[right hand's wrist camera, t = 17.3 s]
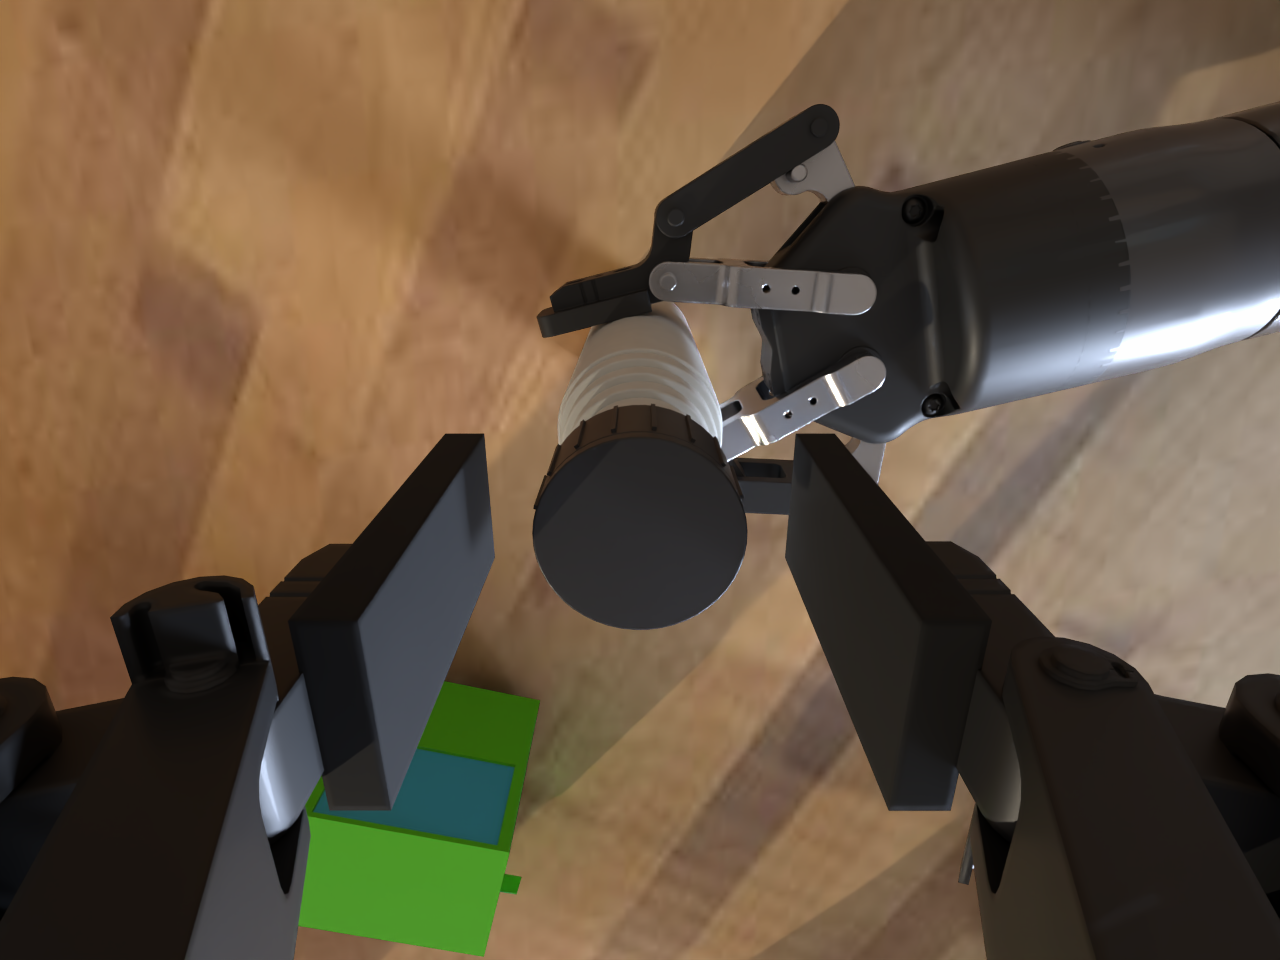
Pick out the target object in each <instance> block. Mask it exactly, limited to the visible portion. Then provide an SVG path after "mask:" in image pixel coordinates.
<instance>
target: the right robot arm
mask: <svg viewBox="0 0 1280 960" xmlns="http://www.w3.org/2000/svg"><path fill="white" fill-rule="evenodd" d="M494 558H495V553H494V542H493V530H492V519H491V507H490V496H489V484H488V473H487V461H486V450H485V438H484V434H445V435H444V436H443V437H442V438H441V440H440V441H439V442H438V443H437V444H436V445H435V447H434V448H433V449H432V450H431V451H430V453H429V454H428V455H427V456H426V457H425V459H424V460H423V461H422V462H421V463H420V464H419V466H418V467H417V468H416V469H415V470H414V472H413V473H412V474H411V475H410V476H409V478H408V479H407V480H406V481H405V482H404V483H403V485H402V486H401V487H400V488H399V489H398V491H397V492H396V493H395V494H394V495H393V497H392V498H391V499H390V500H389V501H388V502H387V504H386V505H385V506H384V507H383V508H382V510H381V511H380V512H379V513H378V514H377V516H376V517H375V518H374V519H373V520H372V521H371V523H370V524H369V525H368V526H367V527H366V529H365V530H364V531H363V532H362V533H361V534H360V536H359V537H358V538H357V539H356V540H355V542H354V543H353V544H329V545H327V546H325V547H323V548H321V549H320V550H318V551H316V552H314V553H312V554H311V555H309V556H307V557H305V558H304V559H302V560H301V561H300V562H299V563H298V564H297V565H296V566H295V567H294V568H293V569H292V570H291V571H290V572H289V573H288V575H287V576H286V577H285V578H284V579H285V580H284V581H281V582H280V583H279V584H278V585H277V586H276V587H275V588H274V589H273V590H272V591H271V592H270V597H266V598H265V599H264V600H263V601H262V602H261V603H260V604H259V605H258V604H257V600H256V595H255V591H254V587H253V585H251V584H250V583H248V582H247V581H245V580H244V579H242V578H236V577H230V576H207V577H197V578H192V579H187V580H183V581H178V582H173V583H170V584H168V585H165V586H162V587H159V588H156V589H154V590H151V591H148V592H146V593H144V594H142V595H140V596H138V597H137V598H135V599H133V600H131V601H129V602H128V603H126V604H124V605H123V606H122V607H121V608H120V609H119V610H118V611H117V612H116V613H115V614H114V615H112V616H111V617H110V619H111V622H112V625H113V628H114V631H115V634H116V637H117V640H118V643H119V646H120V649H121V652H122V655H123V658H124V661H125V664H126V667H127V670H128V673H129V676H130V679H131V682H132V685H131V687H130V689H129V691H128V692H127V694H126V696H125V698H122V699H117V700H112V701H107V702H102V703H97V704H91V705H86V706H81V707H76V708H71V709H65V710H60V711H55V709H54V706H53V704H52V701H51V699H50V696H49V693H48V691H47V688H46V686H44V685H43V684H42V683H40V682H39V681H37V680H36V679H32V678H21V677H9V678H1V679H0V960H293V959H294V952H295V945H296V938H297V931H298V924H299V917H300V909H301V902H302V895H303V888H304V881H305V874H306V866H307V859H308V852H309V845H310V838H311V834H310V827H309V820H308V816H307V812H306V807H305V804H306V802H307V801H308V799H309V797H310V795H311V793H312V792H313V790H314V788H315V786H316V784H317V783H318V781H319V779H320V777H321V775H322V779H323V784H324V788H325V793H326V797H327V802H328V806H329V811H391V810H392V807H393V805H394V802H395V800H396V798H397V795H398V793H399V790H400V788H401V785H402V783H403V780H404V778H405V776H406V773H407V771H408V768H409V766H410V763H411V761H412V759H413V756H414V754H415V751H416V749H417V746H418V744H419V741H420V739H421V737H422V734H423V732H424V729H425V727H426V724H427V722H428V719H429V717H430V715H431V712H432V710H433V707H434V705H435V702H436V700H437V697H438V695H439V693H440V690H441V688H442V685H443V683H444V680H445V678H446V675H447V673H448V671H449V668H450V666H451V663H452V661H453V658H454V656H455V653H456V651H457V649H458V646H459V644H460V641H461V639H462V636H463V634H464V631H465V629H466V627H467V624H468V622H469V619H470V617H471V614H472V612H473V609H474V607H475V605H476V602H477V600H478V597H479V595H480V592H481V590H482V588H483V585H484V583H485V580H486V578H487V575H488V573H489V570H490V568H491V566H492V563H493V561H494ZM785 558H786V561H787V563H788V566H789V568H790V570H791V573H792V575H793V578H794V580H795V583H796V585H797V588H798V590H799V592H800V595H801V597H802V600H803V602H804V605H805V607H806V609H807V612H808V614H809V617H810V619H811V622H812V624H813V627H814V629H815V631H816V634H817V636H818V639H819V641H820V644H821V646H822V649H823V651H824V653H825V656H826V658H827V661H828V663H829V666H830V668H831V671H832V673H833V675H834V678H835V680H836V683H837V685H838V688H839V690H840V693H841V695H842V697H843V700H844V702H845V705H846V707H847V710H848V712H849V715H850V717H851V719H852V722H853V724H854V727H855V729H856V732H857V734H858V737H859V739H860V741H861V744H862V746H863V749H864V751H865V754H866V756H867V759H868V761H869V763H870V766H871V768H872V771H873V773H874V776H875V778H876V780H877V783H878V785H879V788H880V790H881V793H882V795H883V798H884V800H885V802H886V805H887V807H888V810H889V811H951V806H952V802H953V797H954V793H955V788H956V784H957V779H958V775H959V774H960V775H961V777H962V779H963V781H964V782H965V784H966V786H967V788H968V790H969V791H970V793H971V795H972V797H973V799H974V800H975V802H976V803H975V807H974V812H973V816H972V820H971V824H970V829H969V833H968V837H967V841H966V846H965V850H964V854H963V858H962V863H961V867H960V874H959V881H958V882H959V883H963V884H967V885H968V884H969V880H970V876H971V872H972V869H973V868H974V872H975V879H976V886H977V893H978V900H979V907H980V915H981V922H982V929H983V936H984V943H985V950H986V957H987V960H1280V675H1275V674H1257V675H1247V676H1245V677H1244V678H1242V679H1241V680H1239V681H1238V682H1236V683H1235V686H1234V688H1233V691H1232V693H1231V696H1230V699H1229V701H1228V704H1227V706H1226V708H1222V707H1217V706H1211V705H1206V704H1201V703H1196V702H1190V701H1185V700H1180V699H1175V698H1169V697H1164V696H1160V695H1156V694H1154V693H1153V691H1152V689H1151V687H1150V686H1149V684H1148V682H1147V681H1146V680H1145V679H1144V678H1143V677H1142V676H1141V675H1140V673H1139V672H1138V671H1137V670H1136V669H1135V668H1134V667H1132V666H1131V665H1129V664H1128V663H1126V662H1125V661H1123V660H1122V659H1120V658H1119V657H1117V656H1116V655H1114V654H1112V653H1109V652H1107V651H1104V650H1102V649H1100V648H1097V647H1095V646H1093V645H1090V644H1087V643H1083V642H1079V641H1075V640H1071V639H1066V638H1059V637H1055V636H1054V635H1053V634H1052V633H1051V632H1050V631H1049V630H1048V629H1047V628H1046V627H1045V626H1044V625H1043V624H1042V623H1041V622H1040V621H1039V620H1038V619H1037V617H1036V616H1035V615H1034V614H1033V613H1032V612H1031V611H1030V610H1029V609H1028V608H1027V607H1026V606H1025V605H1024V604H1023V603H1022V602H1021V601H1020V600H1019V599H1018V598H1017V597H1016V596H1015V594H1011V590H1010V589H1009V588H1008V587H1007V586H1006V585H1005V584H1004V583H1003V582H1002V581H1001V580H1000V579H996V575H995V574H994V572H993V571H992V570H991V569H990V568H989V567H988V566H987V565H986V564H985V563H984V562H983V561H982V560H981V559H980V558H979V557H978V556H976V555H974V554H972V553H971V552H969V551H967V550H965V549H963V548H962V547H960V546H958V545H956V544H954V543H953V542H925V540H924V539H923V538H922V537H921V536H920V534H919V533H918V532H917V531H916V530H915V529H914V527H913V526H912V525H911V524H910V523H909V521H908V520H907V519H906V518H905V517H904V516H903V514H902V513H901V512H900V511H899V510H898V508H897V507H896V506H895V505H894V504H893V502H892V501H891V500H890V499H889V498H888V497H887V495H886V494H885V493H884V492H883V491H882V489H881V488H880V487H879V486H878V485H877V483H876V482H875V481H874V480H873V479H872V478H871V476H870V475H869V474H868V473H867V472H866V470H865V469H864V468H863V467H862V466H861V464H860V463H859V462H858V461H857V460H856V459H855V457H854V456H853V455H852V454H851V453H850V451H849V450H848V449H847V448H846V447H845V445H844V444H843V443H842V442H841V441H840V440H839V438H838V437H837V436H836V435H835V434H796V438H795V450H794V461H793V473H792V484H791V496H790V507H789V519H788V530H787V542H786V553H785Z"/></svg>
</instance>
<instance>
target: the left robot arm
mask: <svg viewBox="0 0 1280 960" xmlns="http://www.w3.org/2000/svg"><path fill="white" fill-rule="evenodd" d="M839 126H840V124H839V118H838V115H837V113H836V112H835V111H834V110H833V109H832V108H831V107H830V106H828V105H824V104H817V105H814V106H811V107H810V108H808V109H806V110H804V111H802V112H801V113H799V114H797V115H795V116H794V117H792V118H790V119H789V120H787V121H786V122H784V123H782V124H781V125H779V126H778V127H776V128H775V129H773V130H771V131H770V132H768V133H767V134H765V135H764V136H762V137H760V138H759V139H757V140H756V141H754V142H753V143H751V144H749V145H748V146H746V147H745V148H743V149H742V150H740V151H738V152H737V153H735V154H734V155H732V156H730V157H729V158H727V159H726V160H724V161H723V162H721V163H719V164H718V165H716V166H715V167H713V168H712V169H710V170H708V171H707V172H705V173H704V174H702V175H701V176H699V177H697V178H696V179H694V180H693V181H691V182H690V183H688V184H686V185H685V186H683V187H682V188H680V189H679V190H677V191H675V192H674V193H672V194H671V195H669V196H668V197H666V198H664V199H663V200H662V201H660V203H659V204H658V205H657V207H656V209H655V215H654V217H655V218H654V227H653V236H652V245H651V249H650V251H649V253H648V255H647V256H646V258H645V259H644V260H643V261H641V262H640V263H638V264H635V265H632V266H628V267H624V268H620V269H617V270H613V271H609V272H605V273H601V274H597V275H593V276H589V277H585V278H582V279H578V280H574V281H570V282H567V283H565V284H564V285H563V286H561V287H560V288H559V289H558V290H556V291H555V292H554V293H553V294H552V295H551V296H550V300H551V303H552V307H550V308H547V309H544V310H542V311H541V312H540V313H539V314H538V315H537V320H538V323H539V326H540V330H541V333H542V337H544V338H546V337H552V336H556V335H560V334H564V333H568V332H572V331H576V330H580V329H584V328H588V327H592V326H596V325H600V324H604V323H608V322H612V321H616V320H620V319H623V318H627V317H632V316H636V315H640V314H644V313H648V312H652V306H651V304H654V303H657V302H661V301H667V302H685V303H703V304H718V305H724V306H729V307H738V308H751V313H752V319H753V321H754V323H755V325H756V327H757V329H758V331H759V333H760V335H761V337H762V350H761V368H762V373H763V376H762V377H760V378H758V379H756V380H755V381H753V382H751V383H749V384H748V385H746V386H744V387H742V388H741V389H740V390H738V391H737V392H736V393H735V395H734V396H733V397H732V398H730V399H729V400H727V401H725V402H724V403H722V404H720V405H719V406H720V410H721V414H722V422H723V426H722V446H721V449H722V451H723V452H724V454H725V456H726V458H727V461H728V463H729V466H733V468H734V471H735V474H736V477H737V479H738V482H739V485H740V488H741V491H742V494H743V497H744V499H741V501H742V504H743V508H744V512H745V513H761V514H783V515H789V507H790V496H791V484H792V473H793V461H794V460H774V459H753V458H736V457H737V456H739V455H741V454H742V453H744V452H746V451H748V450H750V449H752V448H753V447H755V446H758V445H768V444H771V443H774V442H776V441H778V440H779V439H781V438H783V437H785V436H787V435H789V434H790V433H792V432H794V431H796V430H798V429H800V428H801V427H803V426H805V425H807V424H809V423H811V422H812V421H814V422H816V423H819V424H821V425H824V426H826V427H829V428H831V429H834V430H836V431H839V432H841V433H844V434H846V435H849V436H851V437H852V438H851V440H850V441H849V442H848V443H847V444H846V445H845V447H846V448H847V449H848V450H849V451H850V453H851V454H852V455H853V456H854V457H855V459H856V460H857V461H858V462H859V463H860V464H861V466H862V467H863V468H864V469H865V470H866V472H867V473H868V474H869V475H870V476H871V478H872V479H873V480H874V481H875V482H876V483H877V485H878V482H879V476H880V471H881V466H882V461H883V456H884V450H885V445H886V442H889V441H892V440H894V439H896V438H897V437H899V436H900V435H901V434H903V433H904V432H905V431H906V430H908V429H909V428H910V427H912V426H914V425H915V424H917V423H919V422H921V421H923V420H926V419H930V418H935V417H942V416H949V415H955V414H960V413H964V412H969V411H973V410H978V409H982V408H986V407H991V406H995V405H999V404H1004V403H1008V402H1013V401H1017V400H1021V399H1026V398H1030V397H1034V396H1039V395H1043V394H1047V393H1052V392H1056V391H1060V390H1065V389H1069V388H1074V387H1078V386H1082V385H1087V384H1091V383H1095V382H1100V381H1104V380H1108V379H1113V378H1117V377H1121V376H1126V375H1130V374H1134V373H1139V372H1143V371H1147V370H1151V369H1155V368H1159V367H1162V366H1166V365H1170V364H1173V363H1176V362H1179V361H1182V360H1185V359H1188V358H1191V357H1193V356H1196V355H1199V354H1201V353H1204V352H1206V351H1209V350H1212V349H1215V348H1218V347H1221V346H1223V345H1227V344H1231V343H1234V342H1238V341H1242V340H1246V339H1251V338H1255V337H1259V336H1264V335H1268V334H1272V333H1277V332H1280V101H1279V102H1275V103H1271V104H1267V105H1264V106H1260V107H1256V108H1252V109H1248V110H1244V111H1240V112H1236V113H1233V114H1229V115H1225V116H1221V117H1217V118H1214V119H1209V120H1205V121H1200V122H1195V123H1188V124H1181V125H1172V126H1162V127H1154V128H1147V129H1140V130H1135V131H1131V132H1126V133H1121V134H1117V135H1114V136H1110V137H1106V138H1102V139H1098V140H1094V141H1077V142H1073V143H1069V144H1066V145H1064V146H1061V147H1059V148H1057V149H1055V150H1053V151H1052V152H1048V153H1044V154H1040V155H1036V156H1032V157H1029V158H1025V159H1021V160H1017V161H1013V162H1010V163H1006V164H1002V165H998V166H994V167H990V168H986V169H982V170H979V171H975V172H971V173H967V174H963V175H959V176H955V177H951V178H947V179H944V180H940V181H936V182H932V183H928V184H924V185H920V186H916V187H912V188H909V189H905V190H901V191H896V192H883V191H879V190H876V189H873V188H870V187H865V186H857V187H855V185H854V183H853V181H852V178H851V176H850V174H849V171H848V169H847V167H846V165H845V162H844V160H843V158H842V156H841V153H840V151H839V149H838V147H837V144H836V142H835V139H836V137H837V135H838V132H839ZM769 183H771V185H772V187H773V188H774V190H775V191H777V192H778V193H780V194H782V195H797V194H800V193H802V192H805V191H809V192H812V193H814V194H815V195H817V196H818V198H819V199H820V201H821V202H820V203H819V205H818V206H817V207H816V208H815V209H814V210H813V211H812V213H811V214H810V215H809V216H808V217H807V218H806V220H805V221H804V222H803V223H802V224H801V225H800V226H799V228H798V229H797V230H796V231H795V232H794V233H793V234H792V236H791V237H790V238H789V239H788V240H787V241H786V242H785V244H784V245H783V246H782V247H781V248H780V249H779V250H778V252H777V253H776V254H775V255H774V256H773V257H772V258H771V260H770V261H759V260H741V259H706V258H689V257H690V249H691V241H692V233H693V230H695V229H696V228H698V227H700V226H701V225H703V224H704V223H706V222H708V221H709V220H711V219H713V218H714V217H716V216H717V215H719V214H721V213H722V212H724V211H725V210H727V209H729V208H730V207H732V206H733V205H735V204H737V203H738V202H740V201H742V200H743V199H745V198H746V197H748V196H750V195H751V194H753V193H754V192H756V191H758V190H759V189H761V188H763V187H764V186H766V185H767V184H769ZM770 391H771V393H770ZM788 411H789V413H788V414H785V413H786V412H788Z"/></svg>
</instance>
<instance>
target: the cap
mask: <svg viewBox="0 0 1280 960" xmlns="http://www.w3.org/2000/svg"><path fill="white" fill-rule="evenodd" d="M741 499H744V497H743V494H742V491H741V488H740V485H739V482H738V479H737V477H736V474H735V471H734V468H733V466H729V463H728V461H727V458H726V456H725V454H724V452H723V451H722V449H721V447H720V444H719V441H718V438H717V437H716V436H715V437H712V435H711V434H710V433H709V432H707V431H706V430H705V429H704V428H703V427H702V426H701V425H699V424H698V423H697V422H695V421H694V420H692V419H691V417H690V415H688V414H686V416H685V415H683V414H681V413H678V412H676V411H673V410H671V409H667V408H663V407H659V406H655V404H651V405H629V406H622V407H618V405H617V406H614V408H613V409H610V410H606V411H604V412H602V413H599V414H597V415H595V416H593V417H591V418H590V419H588V420H586V421H585V420H582V421H581V422H580V425H579V426H578V427H577V428H575V429H574V430H573V431H572V432H571V433H570V434H569V435H568V437H567V438H566V439H565V440H564V442H563V443H562V444H561V445H559V444H558V445H557V447H556V449H555V452H554V455H553V458H552V461H551V464H550V467H549V469H548V472H547V476H546V475H545V476H544V479H543V481H542V484H541V487H540V490H539V493H538V496H537V498H536V501H535V504H534V509H536V511H535V515H534V520H533V533H532V534H533V546H534V551H535V555H536V559H537V562H538V564H539V567H540V570H541V571H542V573H543V575H544V577H545V579H546V581H547V582H548V583H549V585H550V586H551V588H552V589H553V590H554V592H555V593H556V594H557V595H558V596H559V597H560V598H561V599H562V600H563V601H564V602H565V603H567V604H568V605H569V606H570V607H571V608H573V609H574V610H576V611H577V612H579V613H581V614H582V615H584V616H586V617H588V618H590V619H592V620H594V621H596V622H599V623H602V624H605V625H608V626H612V627H617V628H622V629H632V630H649V629H657V628H663V627H667V626H672V625H675V624H678V623H681V622H683V621H686V620H688V619H690V618H692V617H694V616H696V615H698V614H700V613H701V612H703V611H704V610H706V609H707V608H709V607H710V606H711V605H712V604H713V603H714V602H716V601H717V600H718V599H719V598H720V597H721V596H722V595H723V594H724V592H725V591H726V590H727V589H728V587H729V586H730V585H731V583H732V582H733V580H734V579H735V577H736V575H737V573H738V571H739V569H740V567H741V564H742V561H743V558H744V555H745V550H746V545H747V522H746V516H745V512H744V508H743V504H742V501H741Z"/></svg>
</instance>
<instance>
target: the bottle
mask: <svg viewBox="0 0 1280 960" xmlns="http://www.w3.org/2000/svg"><path fill="white" fill-rule="evenodd" d="M651 306H652V312H648V313H644V314H640V315H636V316H632V317H627V318H623V319H620V320H616V321H612V322H608V323H604V324H600V325H596V326H592V327H591V329H590V332H589V334H588V337H587V339H586V342H585V344H584V347H583V349H582V352H581V354H580V357H579V359H578V362H577V364H576V367H575V370H574V372H573V375H572V377H571V380H570V382H569V385H568V387H567V390H566V392H565V395H564V397H563V400H562V403H561V406H560V410H559V415H558V444H559V445H561V444H562V443H563V442H564V440H565V439H566V438H567V437H568V435H569V434H570V433H571V432H572V431H573V430H574V429H575V428H577V427H578V426H579V425H580V422H581V421H582V420H585V421H586V420H588V419H590V418H591V417H593V416H595V415H597V414H599V413H602V412H604V411H606V410H610V409H613V408H614V406H617V405H618V407H622V406H629V405H651V404H655V406H659V407H663V408H667V409H671V410H673V411H676V412H678V413H681V414H683V415H685V416H686V414H688V415H690V417H691V419H692V420H694V421H695V422H697V423H698V424H699V425H701V426H702V427H703V428H704V429H705V430H706V431H707V432H709V433H710V434H711V435H712V437H715V436H716V437H717V438H718V441H719V444H720V447H721V446H722V426H723V422H722V414H721V410H720V406H719V402H718V400H717V397H716V394H715V392H714V389H713V387H712V384H711V382H710V379H709V377H708V374H707V371H706V369H705V366H704V364H703V361H702V359H701V356H700V354H699V351H698V348H697V346H696V343H695V341H694V338H693V336H692V333H691V331H690V328H689V325H688V323H687V321H686V318H685V316H684V315H683V313H682V312H681V310H680V309H679V308H678V307H677V306H676V305H675V304H674V303H673V302H667V301H661V302H657V303H654V304H651Z"/></svg>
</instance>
